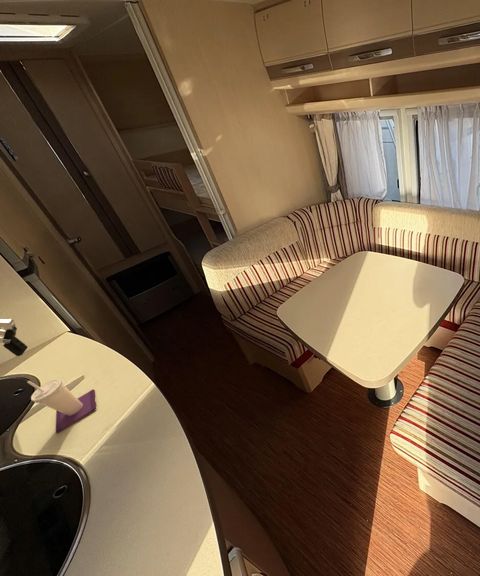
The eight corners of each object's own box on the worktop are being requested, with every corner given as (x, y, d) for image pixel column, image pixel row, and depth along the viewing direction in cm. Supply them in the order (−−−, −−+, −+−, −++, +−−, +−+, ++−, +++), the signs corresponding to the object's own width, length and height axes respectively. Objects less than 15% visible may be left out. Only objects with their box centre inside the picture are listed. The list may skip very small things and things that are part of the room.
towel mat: (57, 433, 81) (55, 432, 80) (58, 411, 87) (56, 410, 86) (96, 409, 85) (95, 408, 84) (94, 390, 91) (93, 389, 90)
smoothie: (56, 417, 84) (9, 388, 76) (80, 396, 89) (39, 366, 80) (69, 423, 82) (22, 393, 73) (93, 401, 86) (52, 371, 78)
